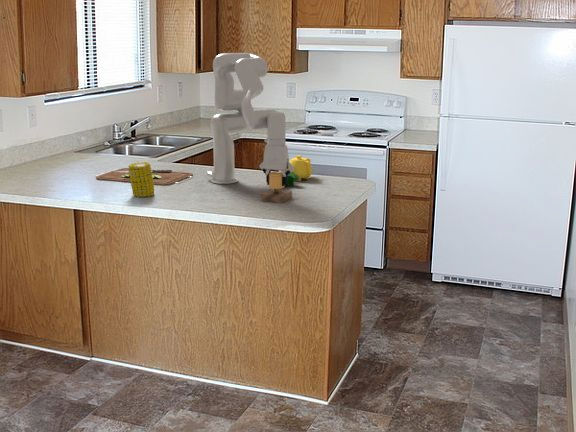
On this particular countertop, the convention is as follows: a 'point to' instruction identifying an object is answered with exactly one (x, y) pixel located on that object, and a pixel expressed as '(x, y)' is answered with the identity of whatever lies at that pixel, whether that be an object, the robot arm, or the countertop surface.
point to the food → (141, 179)
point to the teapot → (301, 167)
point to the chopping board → (158, 176)
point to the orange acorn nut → (275, 180)
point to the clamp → (291, 178)
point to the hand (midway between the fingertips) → (276, 184)
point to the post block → (276, 195)
